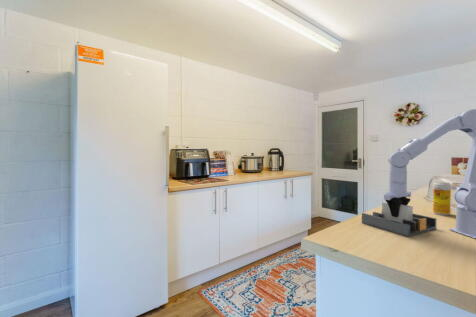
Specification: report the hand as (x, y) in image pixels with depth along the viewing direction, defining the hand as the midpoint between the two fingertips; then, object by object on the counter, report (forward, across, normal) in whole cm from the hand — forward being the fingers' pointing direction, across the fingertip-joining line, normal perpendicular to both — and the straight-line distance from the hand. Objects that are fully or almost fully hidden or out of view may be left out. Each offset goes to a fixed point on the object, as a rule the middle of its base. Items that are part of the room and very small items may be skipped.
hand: (397, 216), depth 94 cm
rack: (+4, 0, 0) cm, 4 cm away
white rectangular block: (+2, 0, 0) cm, 2 cm away
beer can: (+4, -36, -1) cm, 36 cm away
